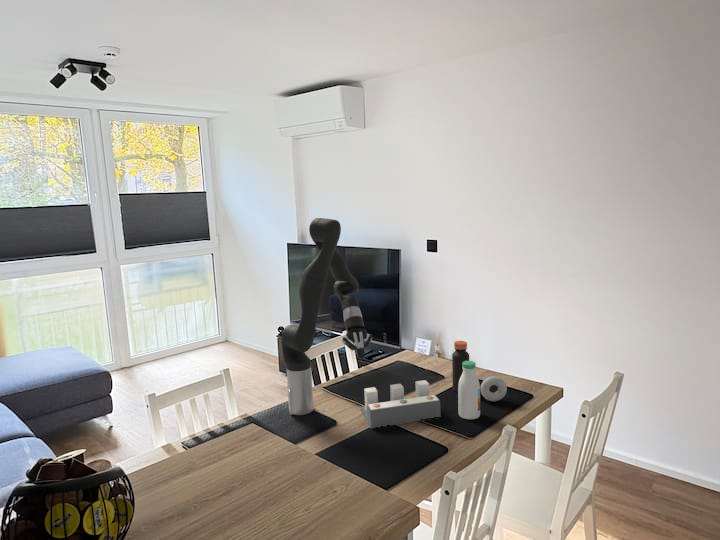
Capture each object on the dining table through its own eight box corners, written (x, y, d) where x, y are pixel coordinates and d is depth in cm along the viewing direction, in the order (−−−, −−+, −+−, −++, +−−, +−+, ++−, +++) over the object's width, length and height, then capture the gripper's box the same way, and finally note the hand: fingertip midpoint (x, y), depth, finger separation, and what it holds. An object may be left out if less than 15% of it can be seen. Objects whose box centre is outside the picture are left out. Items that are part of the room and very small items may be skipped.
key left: (367, 413, 180) (366, 392, 179) (365, 408, 184) (364, 388, 183) (378, 411, 181) (377, 391, 180) (375, 407, 185) (374, 387, 184)
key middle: (394, 409, 182) (393, 388, 181) (390, 405, 186) (390, 384, 185) (404, 408, 183) (403, 387, 182) (400, 403, 187) (400, 383, 186)
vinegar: (449, 387, 204) (449, 341, 201) (464, 385, 206) (463, 339, 203) (457, 394, 198) (457, 346, 194) (472, 391, 200) (472, 343, 196)
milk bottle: (474, 422, 174) (474, 367, 171) (454, 416, 178) (454, 363, 175) (483, 413, 180) (483, 361, 177) (464, 408, 185) (463, 357, 181)
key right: (419, 405, 185) (419, 385, 183) (415, 401, 188) (415, 381, 187) (429, 404, 185) (429, 383, 184) (425, 399, 189) (425, 380, 188)
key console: (370, 428, 172) (370, 409, 171) (360, 410, 187) (360, 392, 186) (440, 417, 178) (440, 399, 177) (425, 400, 193) (425, 383, 192)
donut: (505, 398, 192) (505, 374, 190) (507, 402, 188) (508, 377, 187) (479, 399, 192) (479, 375, 190) (481, 403, 188) (481, 378, 187)
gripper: (338, 316, 197) (346, 356, 187) (370, 313, 200) (379, 352, 190) (336, 326, 203) (344, 364, 193) (367, 323, 206) (376, 360, 196)
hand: (361, 358), depth 192 cm, fingers closed
